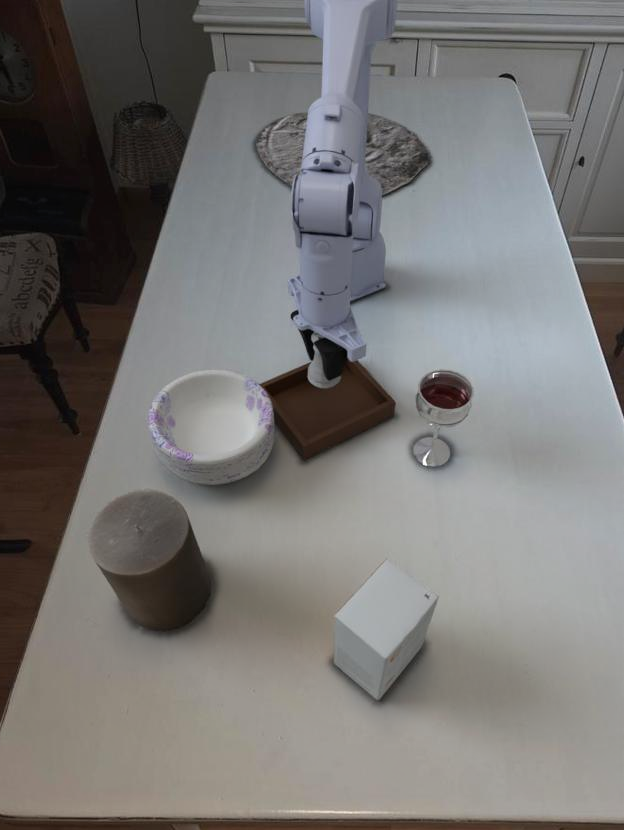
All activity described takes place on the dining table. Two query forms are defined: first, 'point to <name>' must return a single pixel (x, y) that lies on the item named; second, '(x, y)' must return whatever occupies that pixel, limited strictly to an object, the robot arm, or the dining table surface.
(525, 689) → the dining table surface
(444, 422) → the wineglass
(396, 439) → the dining table surface
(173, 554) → the pillar candle
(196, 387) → the paper bowls
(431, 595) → the small box
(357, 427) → the tray
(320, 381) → the rook chess piece
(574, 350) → the dining table surface
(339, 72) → the robot arm
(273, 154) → the worn metal disc
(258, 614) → the dining table surface
